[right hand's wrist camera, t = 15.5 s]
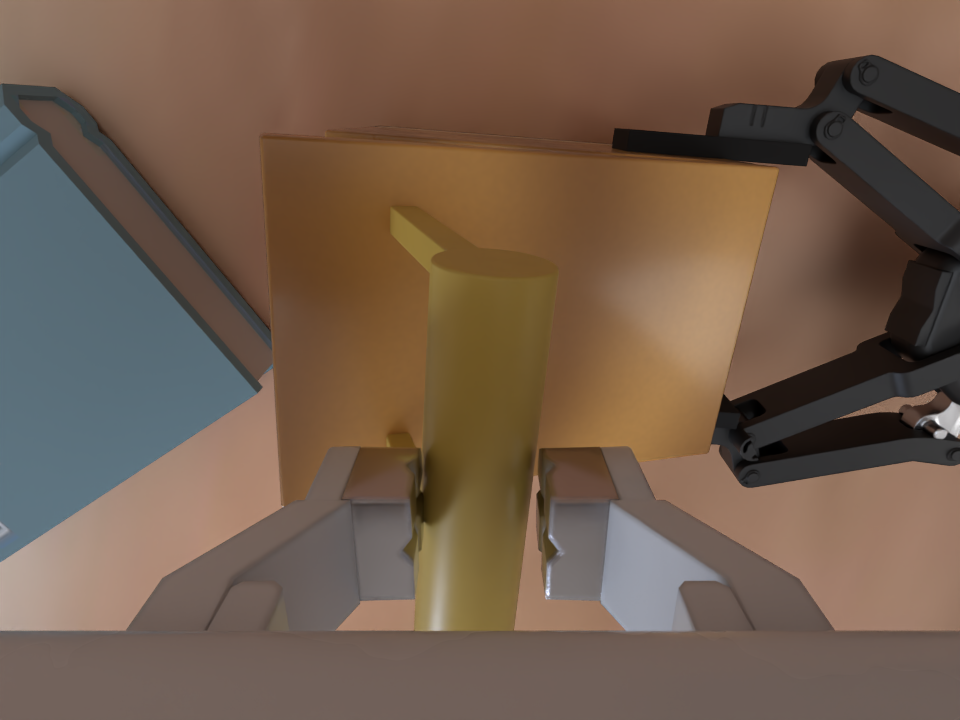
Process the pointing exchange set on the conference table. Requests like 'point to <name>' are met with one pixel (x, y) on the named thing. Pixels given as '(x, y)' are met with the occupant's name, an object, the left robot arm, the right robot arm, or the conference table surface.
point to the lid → (497, 325)
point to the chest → (495, 142)
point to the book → (100, 319)
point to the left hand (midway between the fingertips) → (598, 278)
